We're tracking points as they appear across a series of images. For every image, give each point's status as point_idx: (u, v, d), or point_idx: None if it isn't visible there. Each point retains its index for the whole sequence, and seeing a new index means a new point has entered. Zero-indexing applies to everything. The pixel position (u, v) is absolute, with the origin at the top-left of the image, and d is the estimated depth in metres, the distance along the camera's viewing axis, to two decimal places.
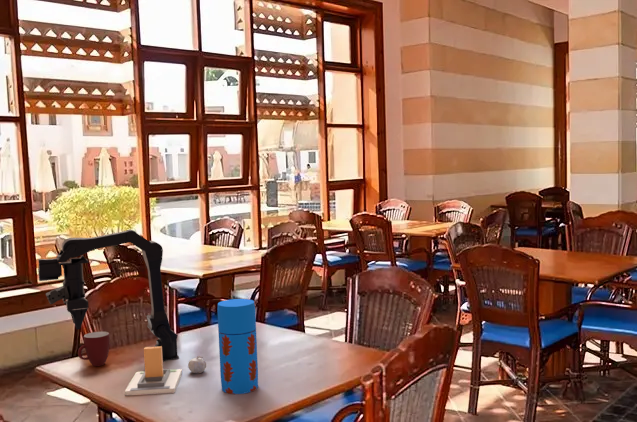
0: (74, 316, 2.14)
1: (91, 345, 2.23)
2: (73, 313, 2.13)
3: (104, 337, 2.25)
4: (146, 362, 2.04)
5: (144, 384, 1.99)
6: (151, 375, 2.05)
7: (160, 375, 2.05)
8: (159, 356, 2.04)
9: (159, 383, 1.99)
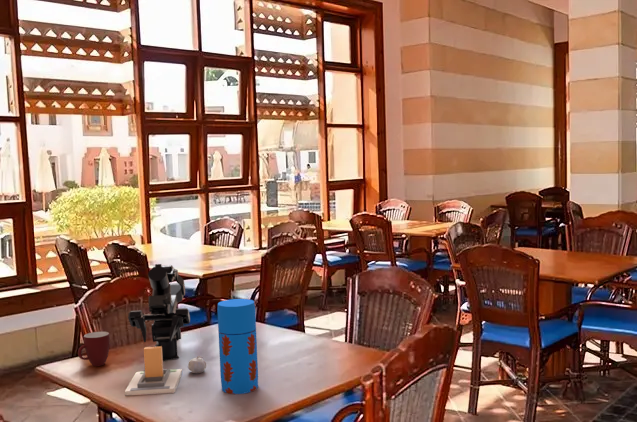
0: None
1: (91, 345, 2.23)
2: (177, 322, 2.18)
3: (104, 337, 2.25)
4: (146, 362, 2.04)
5: (144, 384, 1.99)
6: (151, 375, 2.05)
7: (160, 375, 2.05)
8: (159, 356, 2.04)
9: (159, 383, 1.99)
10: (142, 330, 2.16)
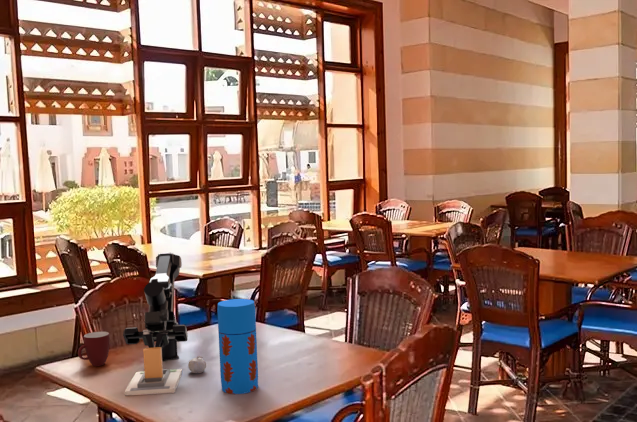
0: None
1: (91, 345, 2.23)
2: (161, 340, 2.09)
3: (104, 337, 2.25)
4: (146, 363, 2.03)
5: (144, 384, 1.99)
6: (151, 376, 2.04)
7: (160, 376, 2.04)
8: (159, 357, 2.04)
9: (159, 383, 1.99)
10: (150, 347, 2.07)
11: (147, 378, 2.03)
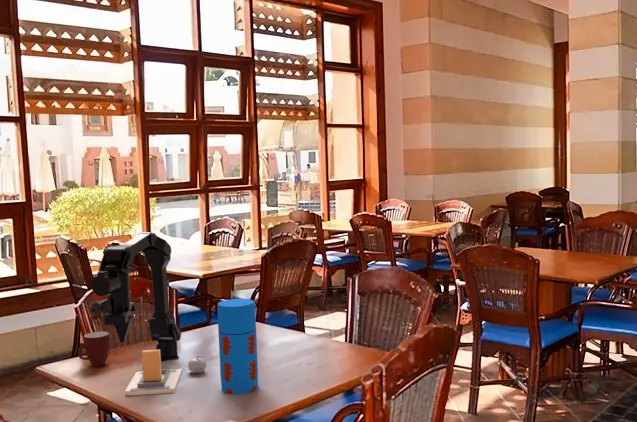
0: (117, 328, 2.02)
1: (91, 345, 2.23)
2: (115, 325, 2.01)
3: (104, 337, 2.25)
4: (144, 365, 2.01)
5: (144, 384, 1.99)
6: (149, 379, 2.01)
7: (158, 379, 2.02)
8: (157, 359, 2.01)
9: (159, 383, 1.99)
10: None
11: (146, 381, 2.01)
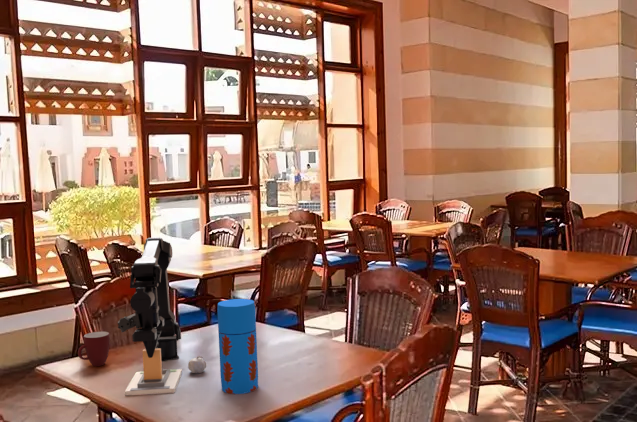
0: (145, 343, 1.99)
1: (91, 345, 2.23)
2: (144, 340, 1.98)
3: (104, 337, 2.25)
4: (145, 364, 2.02)
5: (144, 384, 1.99)
6: (150, 377, 2.03)
7: (159, 377, 2.03)
8: (158, 358, 2.02)
9: (159, 383, 1.99)
10: None
11: (146, 379, 2.02)
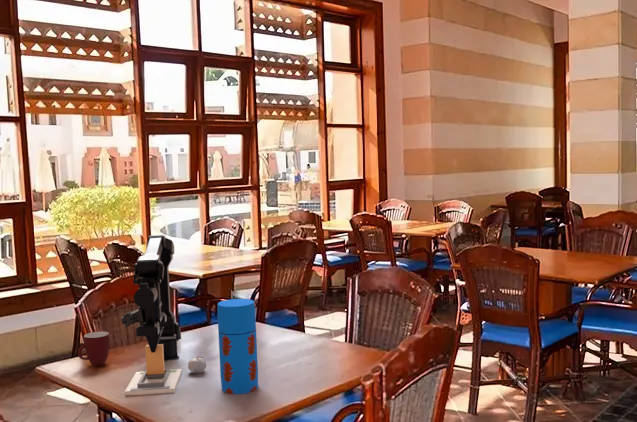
0: (148, 338, 2.04)
1: (91, 345, 2.23)
2: (147, 335, 2.03)
3: (104, 337, 2.25)
4: (147, 359, 2.07)
5: (144, 384, 1.99)
6: (152, 372, 2.07)
7: (161, 372, 2.07)
8: (160, 354, 2.07)
9: (159, 383, 1.99)
10: None
11: (149, 374, 2.07)
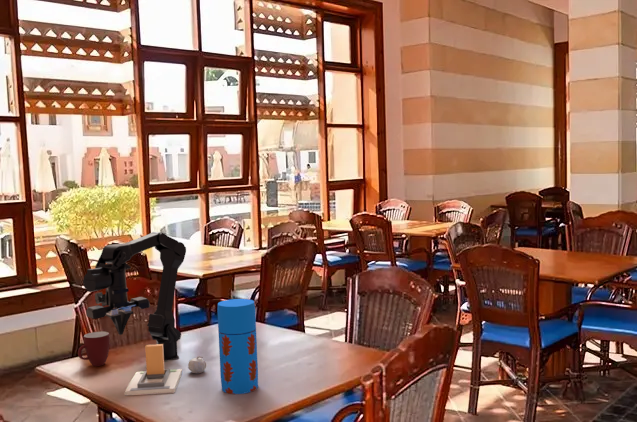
0: (113, 321, 2.15)
1: (91, 345, 2.23)
2: (111, 317, 2.15)
3: (104, 337, 2.25)
4: (147, 359, 2.07)
5: (144, 384, 1.99)
6: (152, 372, 2.07)
7: (161, 372, 2.07)
8: (160, 354, 2.07)
9: (159, 383, 1.99)
10: None
11: (149, 374, 2.07)
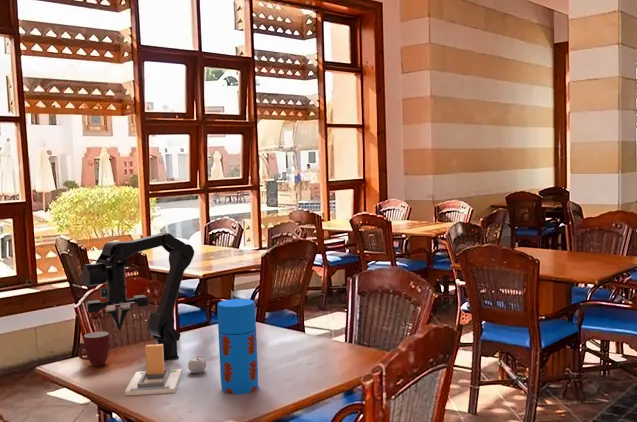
0: None
1: (91, 345, 2.23)
2: (110, 313, 2.20)
3: (104, 337, 2.25)
4: (147, 359, 2.07)
5: (144, 384, 1.99)
6: (152, 372, 2.07)
7: (161, 372, 2.07)
8: (160, 354, 2.07)
9: (159, 383, 1.99)
10: None
11: (149, 374, 2.07)
